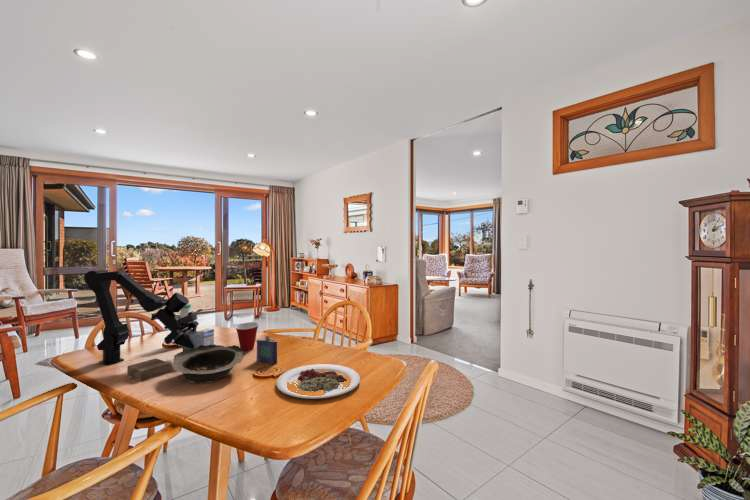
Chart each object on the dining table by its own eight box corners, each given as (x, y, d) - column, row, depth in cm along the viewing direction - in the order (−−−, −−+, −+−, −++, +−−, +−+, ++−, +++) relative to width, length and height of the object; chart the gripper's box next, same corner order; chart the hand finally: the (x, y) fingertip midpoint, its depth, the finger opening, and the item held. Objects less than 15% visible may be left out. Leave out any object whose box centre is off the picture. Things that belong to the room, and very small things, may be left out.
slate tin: (182, 363, 136) (182, 335, 136) (189, 358, 142) (189, 331, 142) (197, 363, 137) (197, 334, 137) (203, 358, 143) (204, 331, 143)
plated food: (337, 410, 100) (337, 399, 100) (257, 393, 110) (257, 383, 110) (371, 375, 128) (371, 366, 128) (306, 364, 138) (306, 356, 138)
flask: (255, 361, 140) (255, 335, 140) (259, 359, 143) (260, 333, 143) (274, 365, 136) (275, 337, 136) (279, 362, 139) (279, 335, 139)
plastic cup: (231, 348, 157) (231, 324, 157) (253, 344, 164) (253, 320, 164) (239, 354, 149) (239, 328, 149) (262, 349, 156) (262, 324, 156)
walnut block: (127, 376, 123) (127, 366, 123) (155, 368, 132) (155, 358, 132) (141, 382, 118) (141, 371, 118) (169, 373, 127) (170, 362, 127)
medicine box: (202, 351, 152) (202, 332, 152) (194, 350, 153) (194, 332, 153) (214, 346, 160) (214, 328, 160) (206, 345, 161) (206, 328, 161)
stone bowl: (214, 359, 141) (216, 338, 140) (256, 375, 130) (258, 352, 130) (155, 379, 119) (157, 354, 118) (199, 399, 108) (202, 372, 107)
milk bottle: (197, 343, 164) (197, 304, 164) (181, 347, 157) (181, 306, 157) (188, 341, 168) (189, 302, 168) (172, 344, 161) (173, 304, 161)
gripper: (172, 310, 130) (201, 338, 131) (194, 303, 148) (219, 327, 149) (151, 330, 129) (180, 358, 130) (176, 320, 148) (201, 344, 149)
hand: (196, 345), depth 140 cm, fingers closed on slate tin, 6 cm apart
